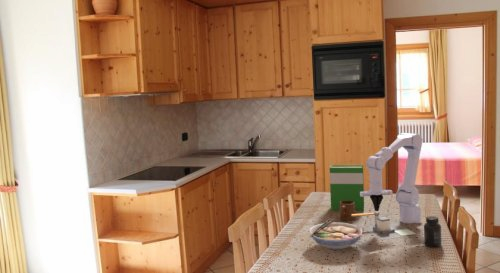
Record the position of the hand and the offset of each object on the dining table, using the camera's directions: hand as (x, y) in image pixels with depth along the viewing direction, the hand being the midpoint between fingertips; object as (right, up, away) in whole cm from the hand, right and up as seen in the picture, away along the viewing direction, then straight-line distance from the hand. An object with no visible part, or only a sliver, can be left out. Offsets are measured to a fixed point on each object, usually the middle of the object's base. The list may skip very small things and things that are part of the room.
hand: (376, 210), depth 209 cm
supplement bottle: (+19, -12, -18) cm, 29 cm away
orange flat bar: (-4, -3, +5) cm, 7 cm away
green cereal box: (-4, -6, +41) cm, 42 cm away
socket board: (+6, -10, 0) cm, 12 cm away
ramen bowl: (-22, -14, -14) cm, 29 cm away
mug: (-10, -9, +19) cm, 23 cm away
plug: (+3, -9, 0) cm, 10 cm away
